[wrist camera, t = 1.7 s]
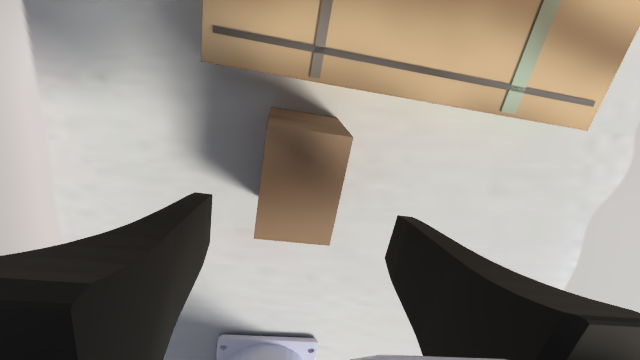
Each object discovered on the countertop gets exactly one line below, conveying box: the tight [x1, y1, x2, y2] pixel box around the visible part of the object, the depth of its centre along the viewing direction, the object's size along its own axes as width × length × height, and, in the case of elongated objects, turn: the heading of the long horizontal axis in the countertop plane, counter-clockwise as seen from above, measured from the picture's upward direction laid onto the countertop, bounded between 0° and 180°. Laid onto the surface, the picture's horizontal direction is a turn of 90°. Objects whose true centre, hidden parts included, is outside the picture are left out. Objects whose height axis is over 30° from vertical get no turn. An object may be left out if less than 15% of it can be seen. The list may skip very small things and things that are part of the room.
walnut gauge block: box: [254, 107, 353, 245], centre depth 17 cm, size 6×4×5 cm, turn 170°
